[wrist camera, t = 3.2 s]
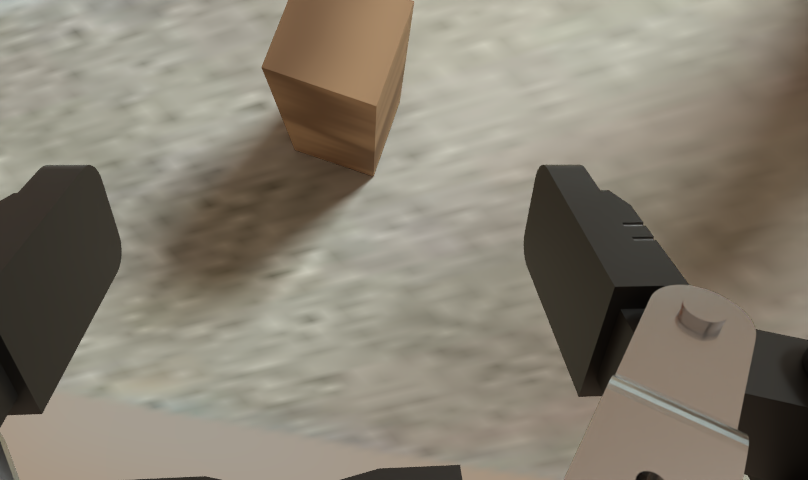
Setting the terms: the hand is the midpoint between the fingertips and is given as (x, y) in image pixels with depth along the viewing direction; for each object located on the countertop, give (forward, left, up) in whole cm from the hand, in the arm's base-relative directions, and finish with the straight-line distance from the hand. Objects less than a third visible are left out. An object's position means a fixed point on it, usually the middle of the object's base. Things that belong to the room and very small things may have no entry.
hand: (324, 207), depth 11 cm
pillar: (+3, -8, -20) cm, 21 cm away
